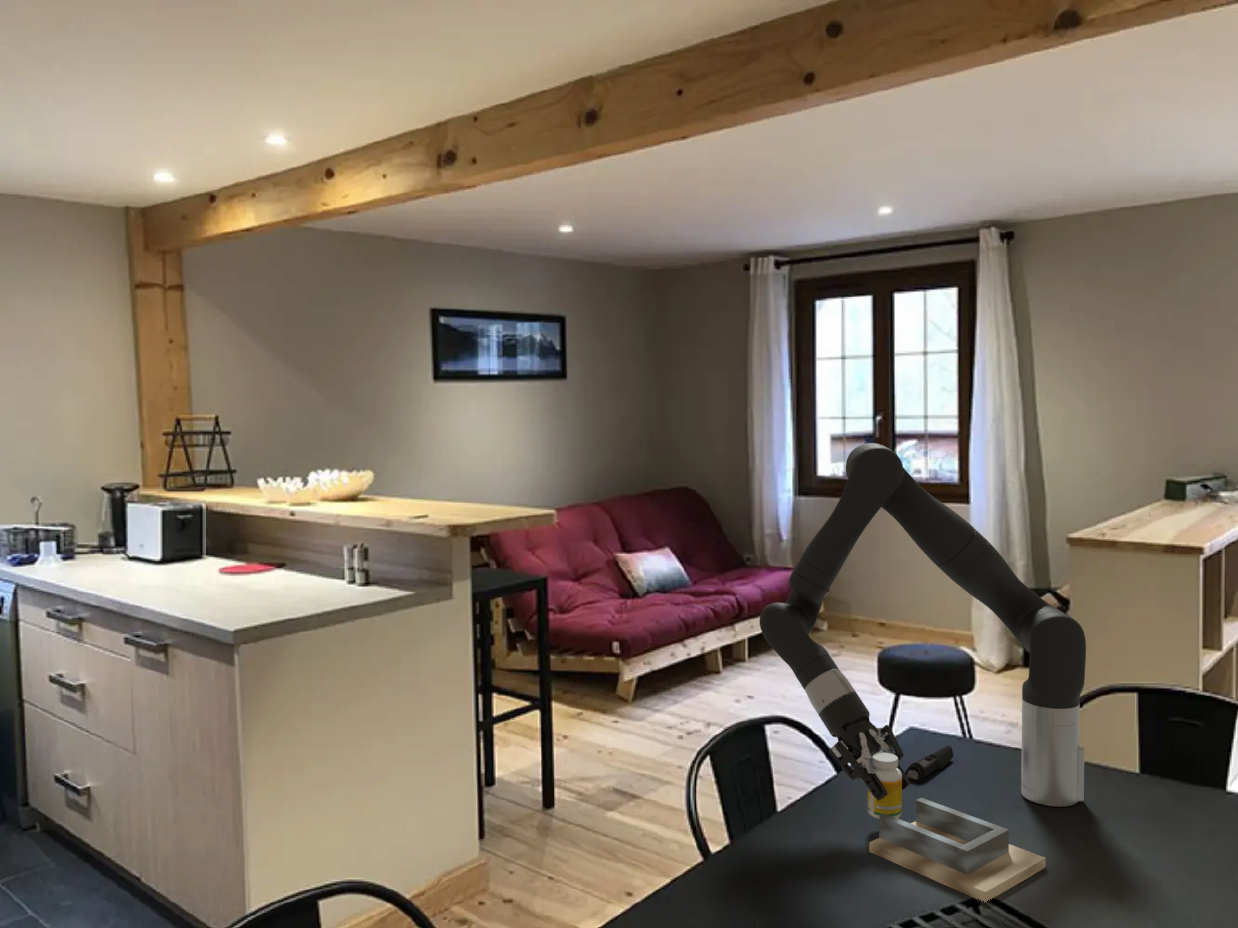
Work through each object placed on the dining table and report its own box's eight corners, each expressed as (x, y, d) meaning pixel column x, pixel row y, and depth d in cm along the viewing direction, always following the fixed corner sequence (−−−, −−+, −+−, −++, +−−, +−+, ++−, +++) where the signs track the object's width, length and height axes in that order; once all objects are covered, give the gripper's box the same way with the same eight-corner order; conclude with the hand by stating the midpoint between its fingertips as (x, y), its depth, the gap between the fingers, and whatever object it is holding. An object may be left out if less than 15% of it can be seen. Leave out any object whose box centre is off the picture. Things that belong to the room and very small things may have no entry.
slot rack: (869, 851, 152) (869, 820, 152) (930, 823, 162) (930, 793, 162) (985, 902, 137) (985, 868, 136) (1045, 867, 146) (1045, 835, 146)
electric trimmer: (958, 763, 189) (959, 747, 189) (920, 785, 178) (921, 768, 178) (940, 758, 192) (940, 742, 192) (902, 780, 181) (902, 763, 181)
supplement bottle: (860, 810, 161) (861, 754, 160) (886, 804, 163) (886, 748, 162) (883, 823, 156) (883, 765, 155) (908, 816, 158) (909, 759, 158)
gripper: (820, 699, 160) (880, 793, 151) (875, 682, 168) (935, 770, 160) (796, 722, 164) (852, 815, 156) (851, 705, 173) (908, 791, 164)
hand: (894, 792), depth 158 cm, fingers closed on supplement bottle, 5 cm apart
